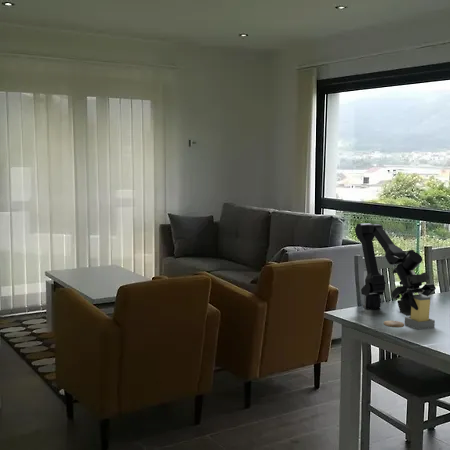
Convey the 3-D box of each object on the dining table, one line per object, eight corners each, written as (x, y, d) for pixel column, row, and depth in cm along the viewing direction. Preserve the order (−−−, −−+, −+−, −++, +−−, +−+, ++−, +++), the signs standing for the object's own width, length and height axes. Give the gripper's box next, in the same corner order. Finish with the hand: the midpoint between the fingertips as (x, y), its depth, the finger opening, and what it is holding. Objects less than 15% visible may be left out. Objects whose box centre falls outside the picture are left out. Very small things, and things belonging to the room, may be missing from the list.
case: (391, 319, 255) (391, 311, 255) (407, 318, 258) (407, 310, 258) (418, 330, 240) (418, 322, 239) (434, 328, 243) (434, 320, 243)
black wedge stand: (410, 315, 258) (404, 293, 263) (400, 321, 263) (394, 300, 269) (431, 316, 262) (425, 295, 267) (421, 323, 268) (415, 302, 273)
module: (410, 322, 246) (412, 295, 245) (420, 321, 248) (421, 294, 247) (418, 325, 242) (420, 298, 240) (428, 324, 244) (430, 297, 242)
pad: (386, 328, 242) (386, 325, 242) (381, 322, 250) (381, 320, 250) (406, 328, 243) (406, 326, 242) (400, 323, 250) (400, 320, 250)
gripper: (397, 267, 242) (414, 300, 233) (434, 264, 249) (452, 296, 241) (384, 282, 250) (400, 314, 242) (420, 279, 257) (436, 311, 249)
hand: (422, 309), depth 243 cm, fingers closed on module, 5 cm apart
